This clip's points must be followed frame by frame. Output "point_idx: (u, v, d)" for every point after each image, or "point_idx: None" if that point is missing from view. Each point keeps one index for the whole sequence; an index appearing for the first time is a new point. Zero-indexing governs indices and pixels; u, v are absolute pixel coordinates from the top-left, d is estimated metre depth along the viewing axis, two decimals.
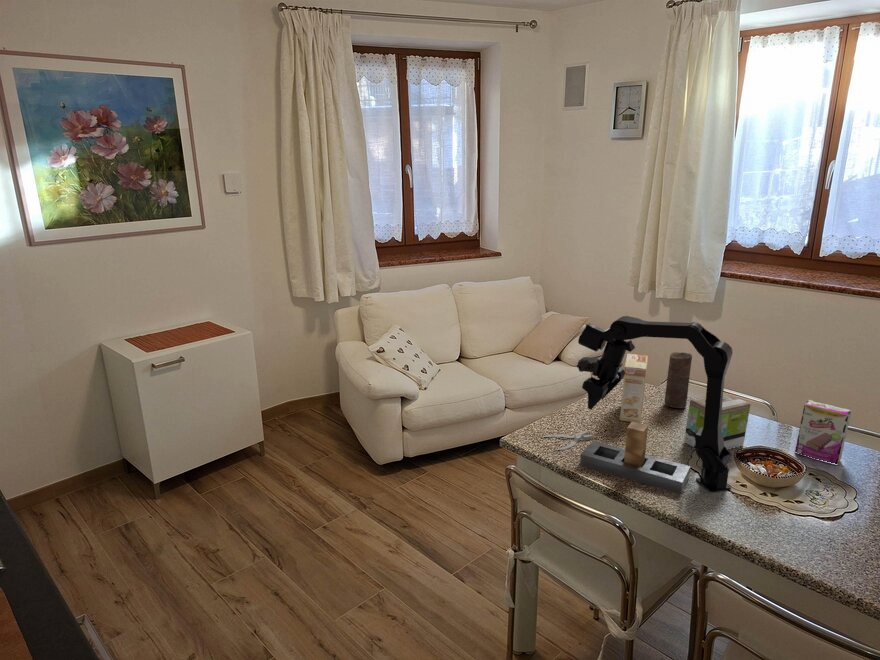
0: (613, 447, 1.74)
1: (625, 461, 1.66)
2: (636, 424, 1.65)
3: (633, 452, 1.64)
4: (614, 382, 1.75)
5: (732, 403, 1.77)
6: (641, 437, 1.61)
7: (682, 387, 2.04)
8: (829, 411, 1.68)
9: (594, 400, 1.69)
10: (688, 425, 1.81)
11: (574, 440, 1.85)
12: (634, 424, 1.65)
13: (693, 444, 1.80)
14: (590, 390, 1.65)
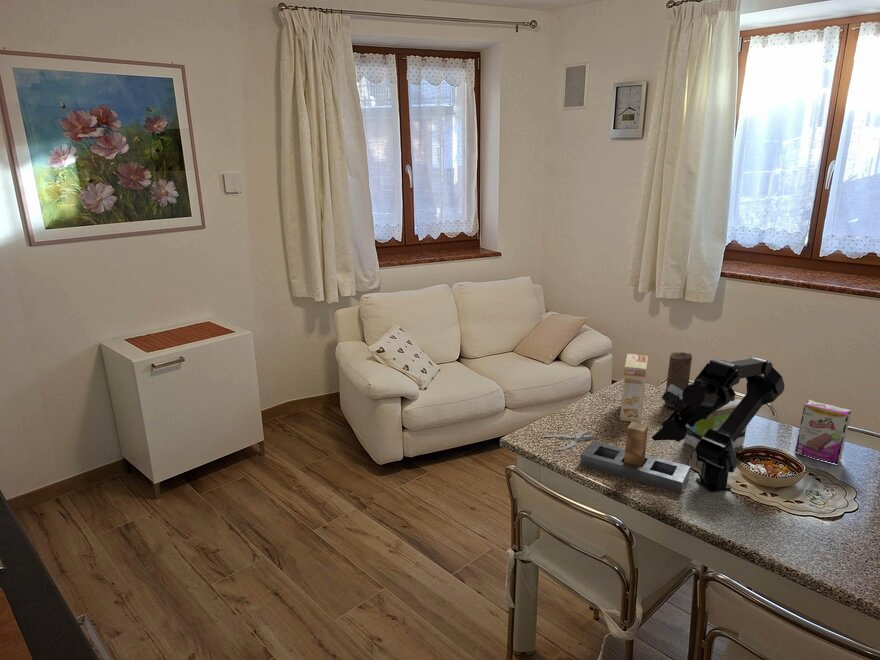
0: (613, 447, 1.74)
1: (625, 461, 1.66)
2: (636, 424, 1.65)
3: (633, 452, 1.64)
4: None
5: (732, 403, 1.77)
6: (641, 437, 1.61)
7: (682, 387, 2.04)
8: (830, 411, 1.68)
9: (664, 436, 1.54)
10: (688, 425, 1.81)
11: (574, 440, 1.85)
12: (634, 424, 1.65)
13: (693, 444, 1.80)
14: (670, 430, 1.49)
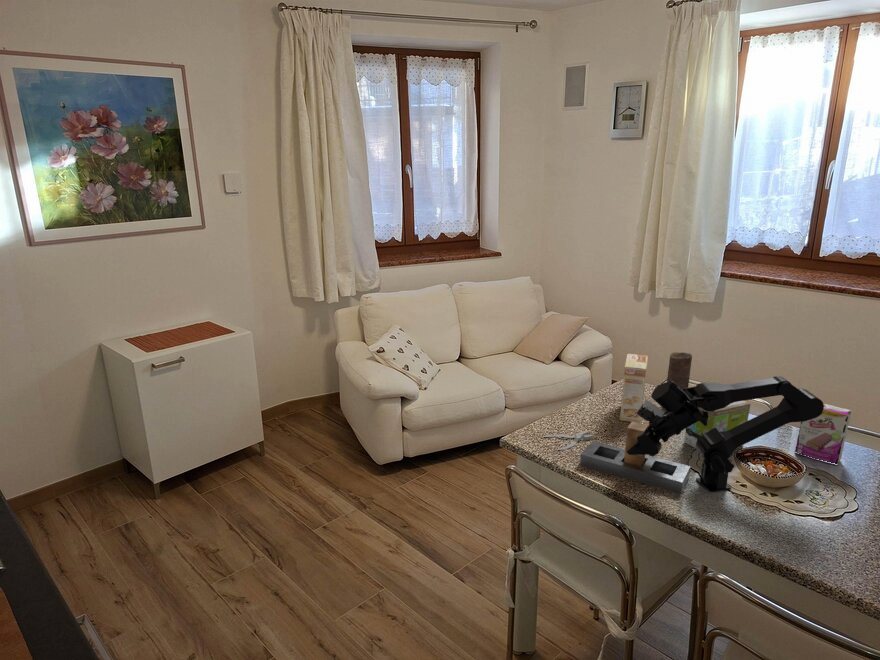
0: (613, 447, 1.74)
1: (625, 461, 1.66)
2: (636, 424, 1.65)
3: None
4: None
5: (732, 403, 1.77)
6: None
7: (682, 387, 2.04)
8: (830, 411, 1.68)
9: (639, 451, 1.59)
10: None
11: (574, 440, 1.85)
12: (634, 424, 1.65)
13: (693, 444, 1.80)
14: (645, 445, 1.54)
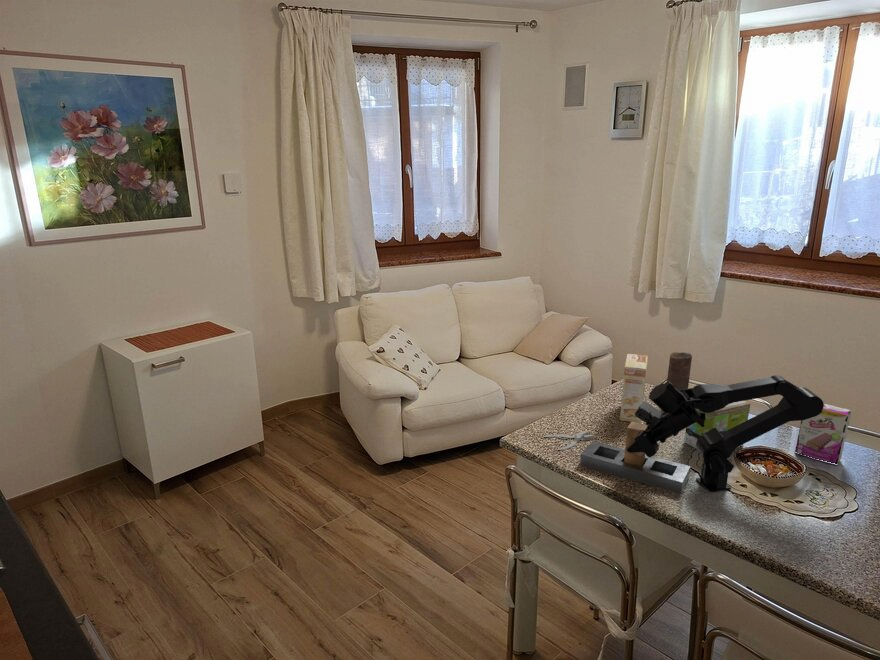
0: (613, 447, 1.74)
1: (625, 461, 1.66)
2: (636, 424, 1.65)
3: (633, 452, 1.64)
4: None
5: (732, 403, 1.77)
6: None
7: (682, 387, 2.04)
8: (829, 411, 1.68)
9: (639, 448, 1.61)
10: None
11: (575, 440, 1.85)
12: (634, 424, 1.65)
13: (693, 444, 1.80)
14: (642, 446, 1.54)
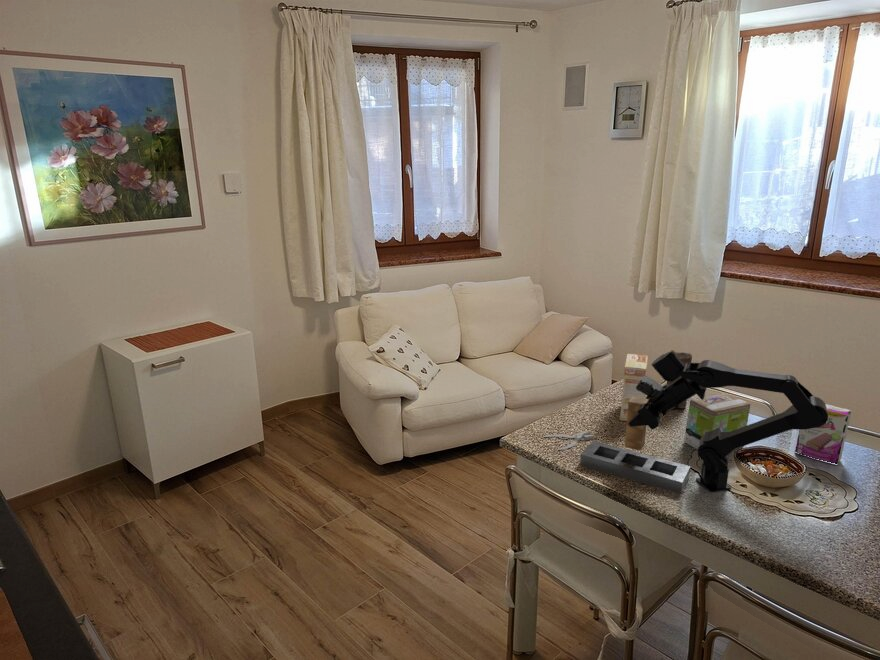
0: (613, 447, 1.74)
1: (627, 435, 1.67)
2: (637, 398, 1.66)
3: (634, 426, 1.65)
4: None
5: (732, 403, 1.77)
6: None
7: None
8: (829, 411, 1.68)
9: (641, 422, 1.62)
10: (688, 425, 1.81)
11: (575, 440, 1.85)
12: (635, 398, 1.66)
13: (693, 444, 1.80)
14: (645, 419, 1.56)
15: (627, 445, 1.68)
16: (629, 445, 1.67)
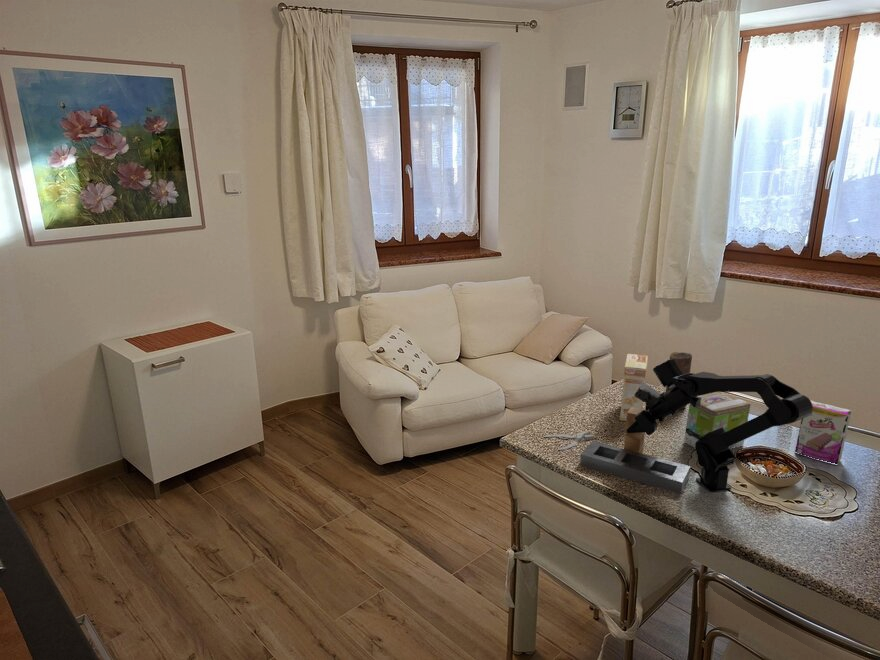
0: (613, 447, 1.74)
1: (625, 444, 1.75)
2: (636, 409, 1.74)
3: (632, 436, 1.73)
4: None
5: (732, 403, 1.77)
6: None
7: None
8: (830, 411, 1.68)
9: (637, 429, 1.69)
10: (688, 425, 1.81)
11: (575, 440, 1.85)
12: (634, 409, 1.74)
13: (693, 444, 1.80)
14: (641, 425, 1.63)
15: None
16: None
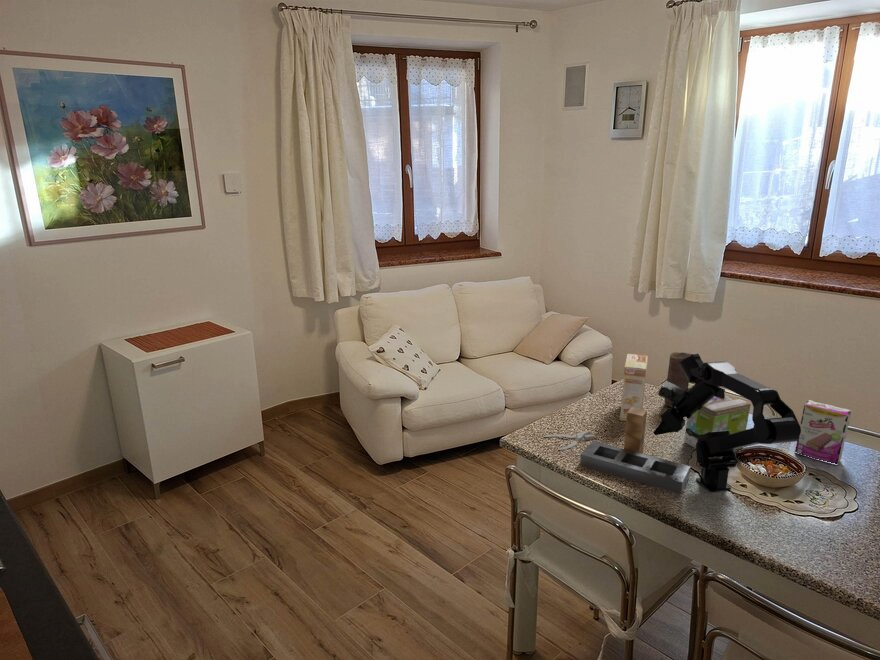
0: (613, 447, 1.74)
1: (625, 444, 1.75)
2: (636, 409, 1.74)
3: (632, 436, 1.73)
4: None
5: (732, 403, 1.77)
6: (640, 421, 1.71)
7: (682, 387, 2.04)
8: (829, 411, 1.68)
9: (664, 429, 1.65)
10: (688, 425, 1.81)
11: (575, 440, 1.85)
12: (634, 409, 1.74)
13: (693, 444, 1.80)
14: (668, 422, 1.60)
15: None
16: None
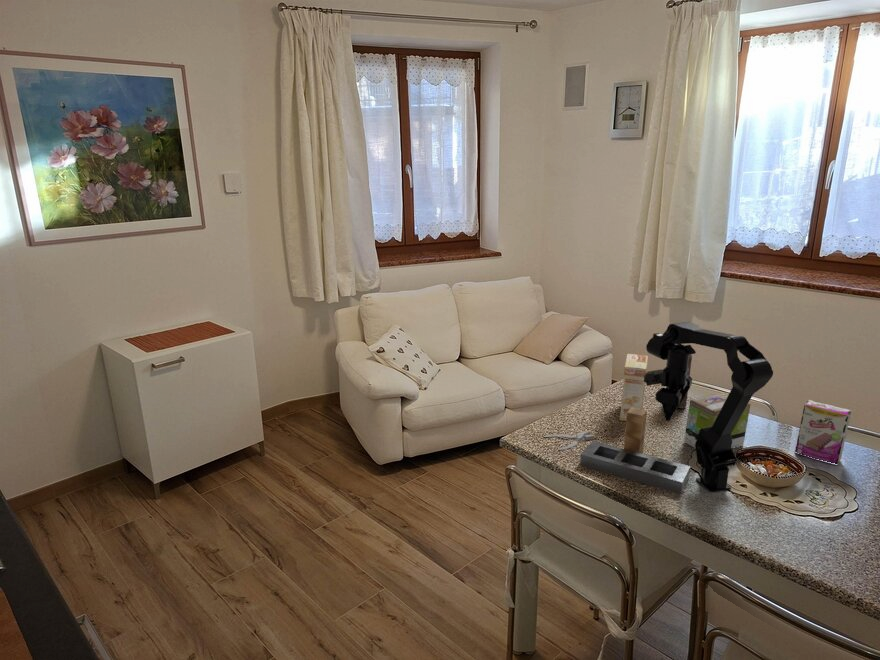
0: (613, 447, 1.74)
1: (625, 444, 1.75)
2: (635, 409, 1.74)
3: (632, 436, 1.73)
4: (684, 390, 1.74)
5: None
6: (640, 421, 1.71)
7: None
8: (829, 411, 1.68)
9: (670, 410, 1.67)
10: (688, 425, 1.81)
11: (576, 440, 1.85)
12: (634, 409, 1.74)
13: (693, 444, 1.80)
14: (665, 400, 1.63)
15: None
16: None
